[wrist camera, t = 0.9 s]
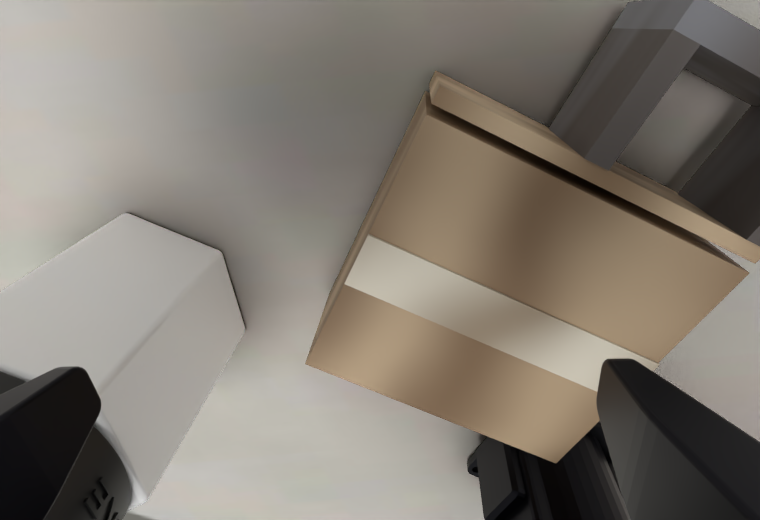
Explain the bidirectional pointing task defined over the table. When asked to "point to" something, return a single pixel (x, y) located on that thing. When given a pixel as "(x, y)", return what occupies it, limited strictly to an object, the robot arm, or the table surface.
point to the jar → (124, 350)
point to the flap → (635, 103)
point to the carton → (507, 287)
